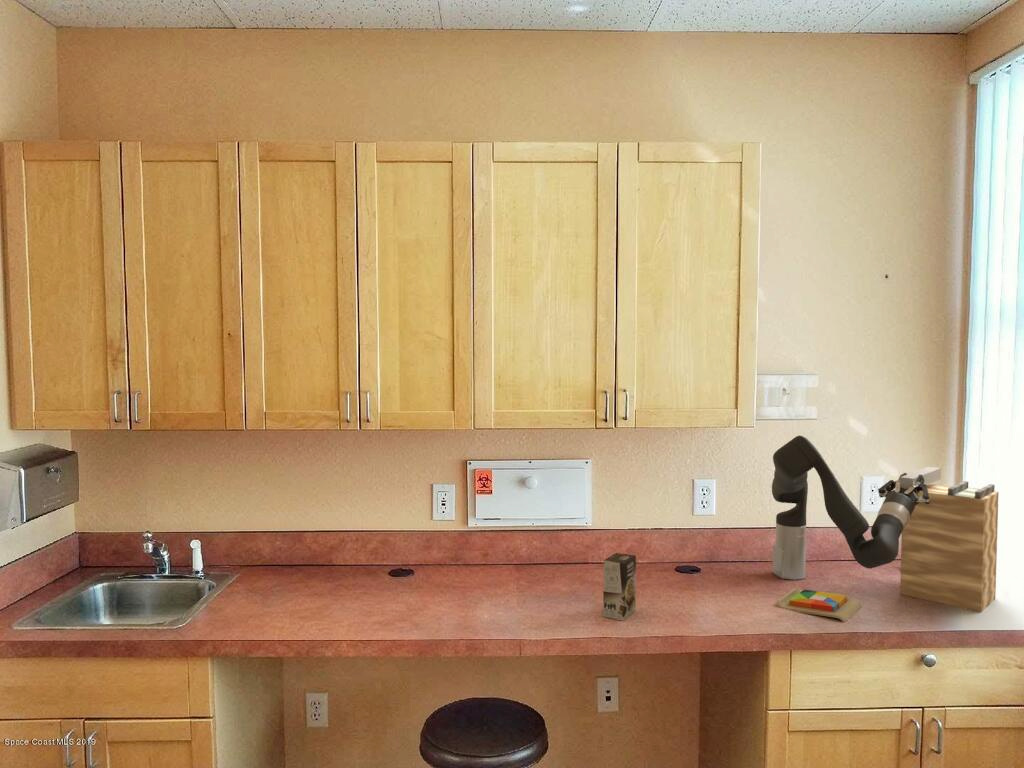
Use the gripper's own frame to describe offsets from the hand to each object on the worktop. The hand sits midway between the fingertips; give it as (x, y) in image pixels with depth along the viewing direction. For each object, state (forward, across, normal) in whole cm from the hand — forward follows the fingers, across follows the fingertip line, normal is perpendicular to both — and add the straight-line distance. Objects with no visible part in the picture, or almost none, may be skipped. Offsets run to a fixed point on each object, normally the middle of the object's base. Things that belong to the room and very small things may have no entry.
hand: (913, 476), depth 207 cm
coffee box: (-80, +53, -3) cm, 96 cm away
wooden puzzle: (-40, +17, +21) cm, 48 cm away
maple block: (-8, -7, +38) cm, 39 cm away
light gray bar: (+4, 0, +6) cm, 8 cm away
